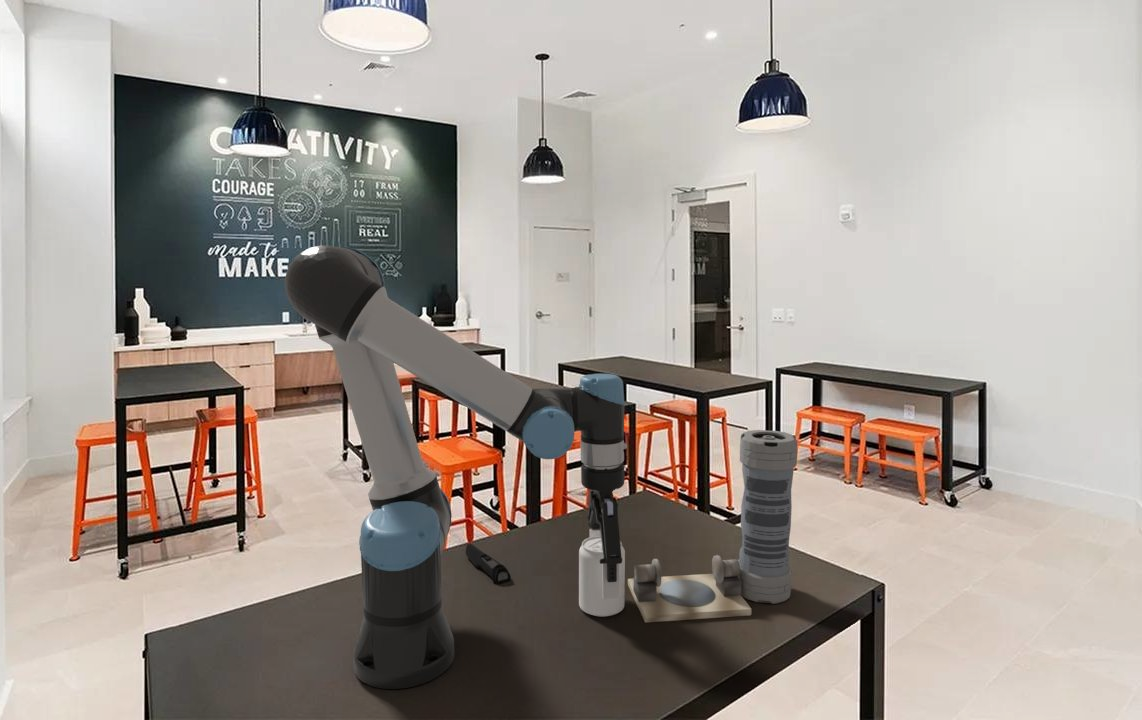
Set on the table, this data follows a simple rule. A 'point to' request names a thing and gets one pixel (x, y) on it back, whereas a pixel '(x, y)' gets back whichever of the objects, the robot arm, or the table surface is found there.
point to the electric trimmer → (488, 564)
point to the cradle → (689, 593)
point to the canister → (766, 514)
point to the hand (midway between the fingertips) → (603, 579)
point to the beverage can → (597, 580)
